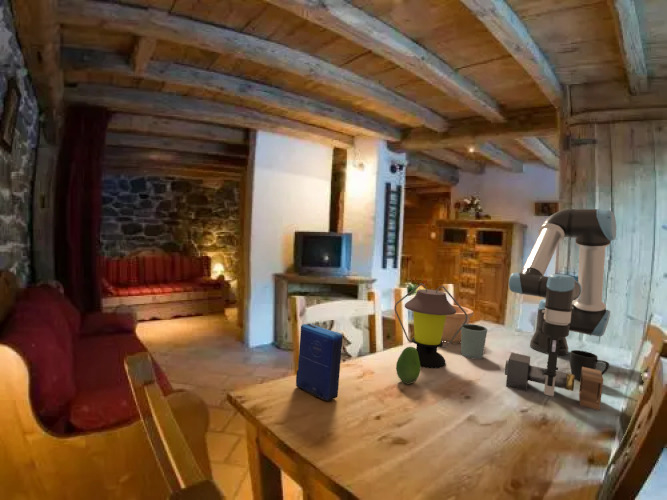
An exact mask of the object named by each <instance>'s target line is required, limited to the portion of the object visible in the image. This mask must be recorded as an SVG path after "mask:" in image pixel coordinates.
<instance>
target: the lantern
mask: <svg viewBox="0 0 667 500" xmlns="http://www.w3.org/2000/svg"><path fill="white" fill-rule="evenodd" d="M420 286H423V287H424V288H425V289H424V288H423V289H418V288H419V287H420ZM440 288H442V289H443V290H444V291H445V292H444V291H440V290H439V289H440ZM417 289H418V290H417ZM415 290H416V292H415ZM413 292H415V293H416V294H415V296H413V298H411V299H409V300H408V301H407V302H406V303H404V308H405V309H407V310H408V311H412V313H413V314H412V315H413V329H414V330H413V334H414V337H412V338H411V339H410V338H409V336H408V334H407V332H406V329H405V326H404V325H403V322H402V320H401V318H400V316H399V313H398V311H397V306H398V305H399V303H401V302H402V301H403V300H404V299H405V298H406V297H407V298H408V296H409V295H410V294H412V293H413ZM447 295H448V296H449V297H450V298H451V300H452V301H454V303H455V305H457V306H459V307H460V309H461V310H462V311H463V312H464V313H465V316H466V320H465V322H464V323H463V324H462V326H461V327H460V328H459V330H458V331H457V332H456V334H455V335H454V336H453V338H452V339H451V340H450V342H449V343H446V345H445V346H443V342H442V341H441V338H442V333H443V329H444V324H445V320H446V315H452V314H455V313H456V309H455V308H454V307H453V306H452V305H453V304H452V303H450V302H449V300H448V298H447ZM462 307H463V306H462ZM462 307H461V305H460V304H459V302H457V300H456V299H455V298H454V297H453V295H452V294H451V293H450V292H449V291H448V290H447V288H446V287H445V286H444V285H441V286H439V287H438V288H436V290H434V289H427V286H426V285H425V284H424V283H421V282H420V283H419V284H418V285H416V287H414V288H413V289H412V290H411V291H409V292H408V293H407V294H406V295H404V296H403V297H402V298H400V299H399V300H398V301H396V303H395V305H394V307H393V308H394V312H395V316H397V319H398V322H399V324H400V326H401V329H402V330H403V333H404V335H405V338H406V340H407V341H408V342H410V343H413V344H415V345H416V347H415V348H416V350H417V352H418V356H419V361H420V368H424V367H425V369H440V367H441V368H443V367H445V366H446V359H445V358H444V356H443V355H442V354H441V353H439V352H438V348H442V349H446V348H448V347H449V346H450V345H451V344H452V343H451V342H452V340H453V339H454V338H455V336H456V335H457V334H458V333H459V331H460V330H461V329H462V327H463V326H464V325H465V323H466V322H467V314H466V312H465V311H464V310H463V308H462ZM444 365H445V366H444Z"/></svg>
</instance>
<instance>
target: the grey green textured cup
mask: <svg viewBox="0 0 667 500" xmlns="http://www.w3.org/2000/svg"><path fill="white" fill-rule="evenodd" d="M461 326H462V325H461ZM461 333H462V334H461V343H460V351H461V352H460V354H461V355H462V356H463V357H465V358H467V357H468V359H472V358H473V360H480V359H483V357H484V351H485V347H486V339H487V334H488V328H487V327H485V326H483V325H479V324H474V323H473V324H472V323H469V324H465V325H464V326H463V327H462V329H461Z"/></svg>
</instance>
